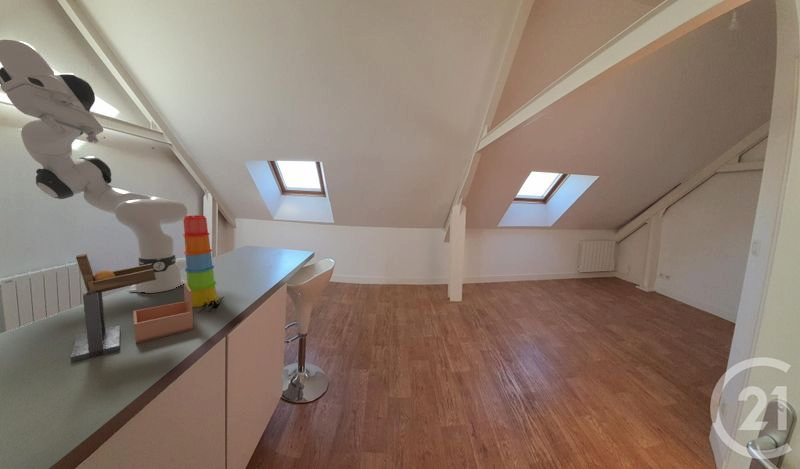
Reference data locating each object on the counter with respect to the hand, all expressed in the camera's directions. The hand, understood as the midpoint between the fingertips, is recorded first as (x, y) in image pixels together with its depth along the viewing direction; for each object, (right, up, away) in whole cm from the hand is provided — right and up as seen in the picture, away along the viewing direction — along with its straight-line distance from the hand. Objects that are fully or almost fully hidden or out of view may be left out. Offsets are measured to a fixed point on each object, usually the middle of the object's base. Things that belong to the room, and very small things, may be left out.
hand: (78, 137), depth 80 cm
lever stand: (+12, -60, -5) cm, 62 cm away
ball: (+15, -41, -6) cm, 44 cm away
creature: (+25, -58, +20) cm, 66 cm away
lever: (+17, -44, -3) cm, 48 cm away
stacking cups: (+18, -57, +26) cm, 65 cm away
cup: (+22, -60, +5) cm, 64 cm away
